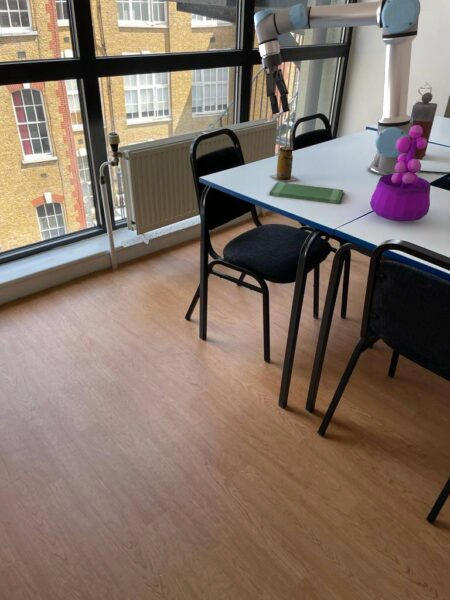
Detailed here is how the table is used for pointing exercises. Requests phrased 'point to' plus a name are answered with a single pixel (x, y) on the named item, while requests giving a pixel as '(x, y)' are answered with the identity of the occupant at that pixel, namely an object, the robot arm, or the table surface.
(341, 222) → the table surface
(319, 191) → the towel
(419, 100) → the dna model
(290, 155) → the condiment
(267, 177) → the table surface
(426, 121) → the glass decanter
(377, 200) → the decorative plant
